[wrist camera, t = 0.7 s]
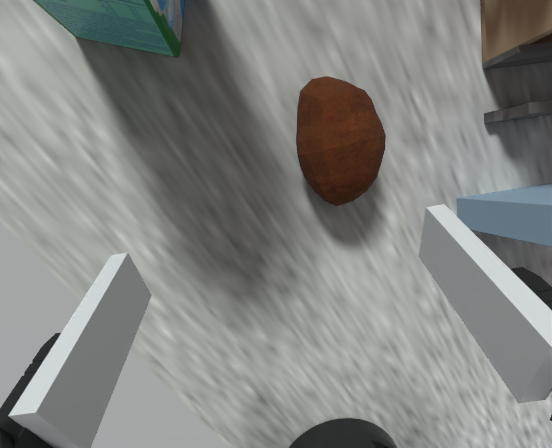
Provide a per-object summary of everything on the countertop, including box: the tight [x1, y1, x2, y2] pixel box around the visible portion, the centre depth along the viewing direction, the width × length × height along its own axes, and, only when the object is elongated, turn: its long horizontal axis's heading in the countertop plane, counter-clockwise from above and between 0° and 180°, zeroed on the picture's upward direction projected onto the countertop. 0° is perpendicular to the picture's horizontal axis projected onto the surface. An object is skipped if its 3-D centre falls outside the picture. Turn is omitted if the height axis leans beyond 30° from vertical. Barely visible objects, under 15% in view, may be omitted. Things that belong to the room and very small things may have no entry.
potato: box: [296, 76, 386, 206], centre depth 26 cm, size 8×12×8 cm, turn 13°
